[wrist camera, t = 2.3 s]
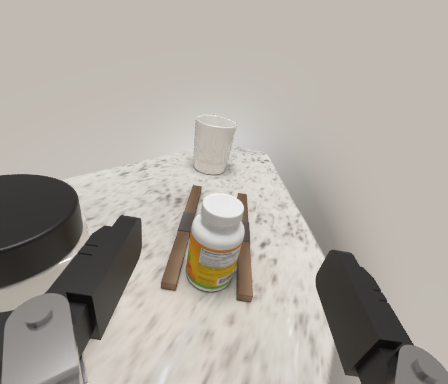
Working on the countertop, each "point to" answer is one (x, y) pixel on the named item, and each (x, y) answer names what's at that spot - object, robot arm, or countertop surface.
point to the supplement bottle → (215, 242)
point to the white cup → (213, 143)
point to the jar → (36, 235)
